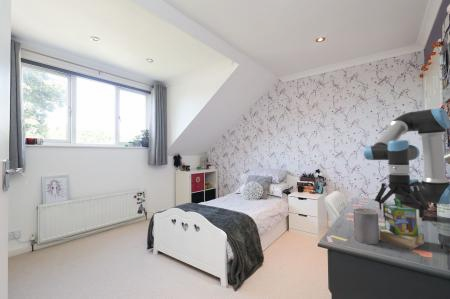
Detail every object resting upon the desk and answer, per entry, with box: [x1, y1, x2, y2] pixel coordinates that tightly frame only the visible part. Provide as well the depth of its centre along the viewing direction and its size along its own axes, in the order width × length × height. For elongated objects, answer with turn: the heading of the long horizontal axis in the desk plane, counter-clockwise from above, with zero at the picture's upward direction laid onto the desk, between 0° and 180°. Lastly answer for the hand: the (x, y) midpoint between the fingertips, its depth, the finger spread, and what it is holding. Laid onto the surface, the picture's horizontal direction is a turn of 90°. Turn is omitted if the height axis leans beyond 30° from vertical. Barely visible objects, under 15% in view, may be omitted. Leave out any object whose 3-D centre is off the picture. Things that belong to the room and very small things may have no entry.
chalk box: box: [384, 197, 419, 235], centre depth 100 cm, size 9×9×15 cm
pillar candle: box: [353, 207, 380, 245], centre depth 101 cm, size 10×10×15 cm
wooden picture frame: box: [379, 228, 425, 250], centre depth 99 cm, size 12×12×4 cm
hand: (400, 220), depth 100 cm, fingers open, 13 cm apart
